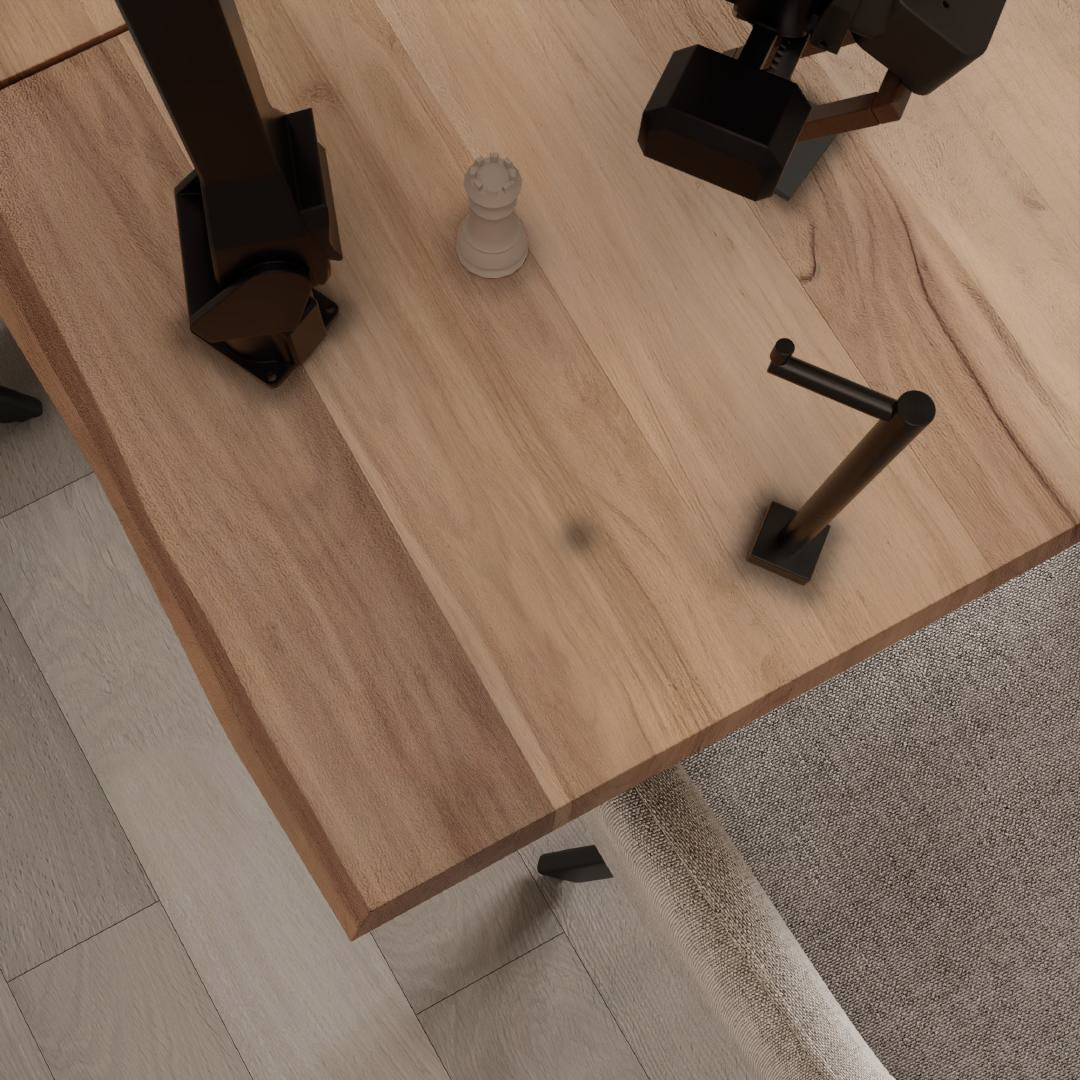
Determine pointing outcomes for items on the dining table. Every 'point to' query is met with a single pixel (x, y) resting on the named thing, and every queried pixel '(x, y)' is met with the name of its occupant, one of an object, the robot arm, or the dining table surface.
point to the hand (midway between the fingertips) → (741, 122)
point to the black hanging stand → (800, 535)
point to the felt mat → (801, 163)
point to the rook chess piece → (492, 219)
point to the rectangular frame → (848, 101)
